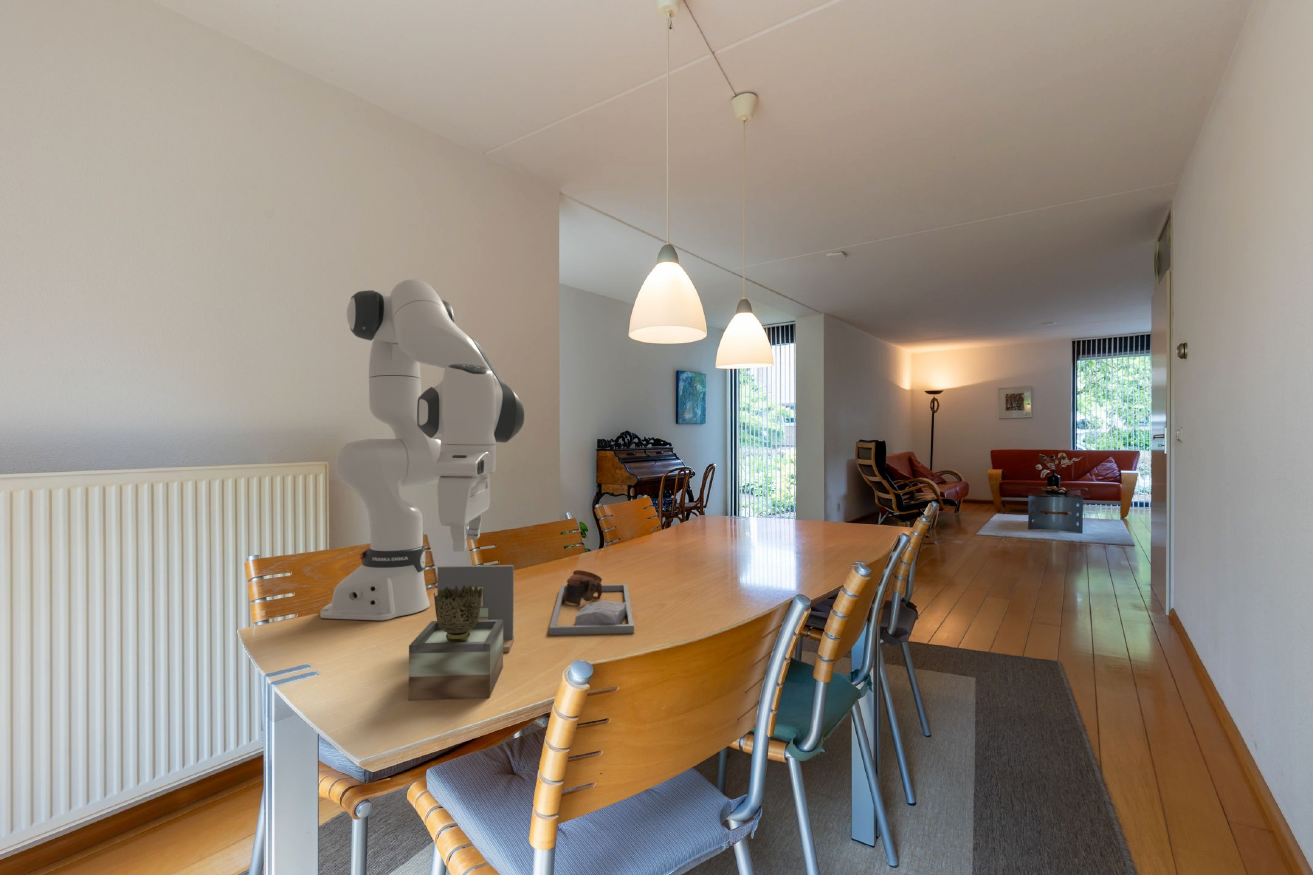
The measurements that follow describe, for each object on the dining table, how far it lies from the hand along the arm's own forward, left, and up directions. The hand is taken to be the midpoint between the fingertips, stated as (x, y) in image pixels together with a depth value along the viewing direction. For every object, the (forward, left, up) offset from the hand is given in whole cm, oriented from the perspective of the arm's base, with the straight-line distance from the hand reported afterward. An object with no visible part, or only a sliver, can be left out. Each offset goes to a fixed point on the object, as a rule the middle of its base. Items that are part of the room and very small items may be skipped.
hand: (467, 544), depth 99 cm
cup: (-1, -4, -15) cm, 15 cm away
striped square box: (0, -3, -22) cm, 22 cm away
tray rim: (+21, +36, -22) cm, 47 cm away
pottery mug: (+18, +44, -22) cm, 52 cm away
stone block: (+22, +27, -22) cm, 41 cm away
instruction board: (-1, +13, -22) cm, 25 cm away
